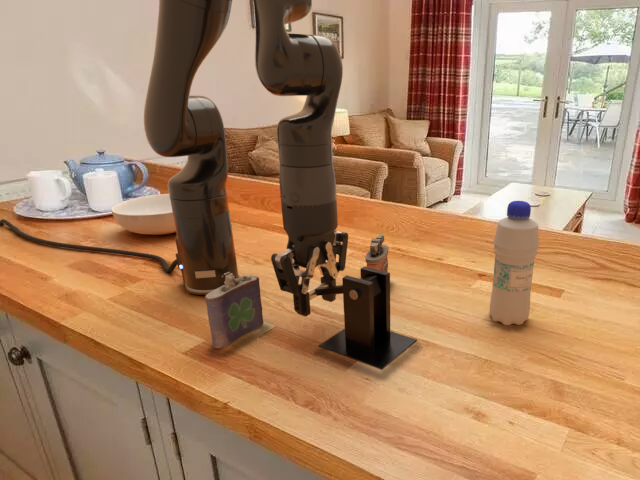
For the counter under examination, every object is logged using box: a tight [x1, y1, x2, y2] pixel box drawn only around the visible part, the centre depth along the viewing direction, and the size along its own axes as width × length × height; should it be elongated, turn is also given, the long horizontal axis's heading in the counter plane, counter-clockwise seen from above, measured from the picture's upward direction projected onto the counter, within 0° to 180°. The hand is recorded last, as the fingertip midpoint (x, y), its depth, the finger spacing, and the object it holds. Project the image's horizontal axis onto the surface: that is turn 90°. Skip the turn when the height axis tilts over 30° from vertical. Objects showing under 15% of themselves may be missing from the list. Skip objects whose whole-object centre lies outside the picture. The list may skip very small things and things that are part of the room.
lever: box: [308, 276, 381, 301], centre depth 70 cm, size 12×5×2 cm, turn 58°
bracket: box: [318, 266, 418, 370], centre depth 69 cm, size 11×9×12 cm
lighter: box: [364, 233, 390, 272], centre depth 89 cm, size 8×3×10 cm, turn 168°
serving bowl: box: [110, 193, 176, 236], centre depth 122 cm, size 21×21×7 cm
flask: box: [204, 272, 264, 349], centre depth 71 cm, size 9×3×11 cm, turn 151°
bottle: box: [489, 200, 540, 326], centre depth 75 cm, size 7×7×20 cm
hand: (316, 306), depth 74 cm, fingers closed on lever, 5 cm apart
